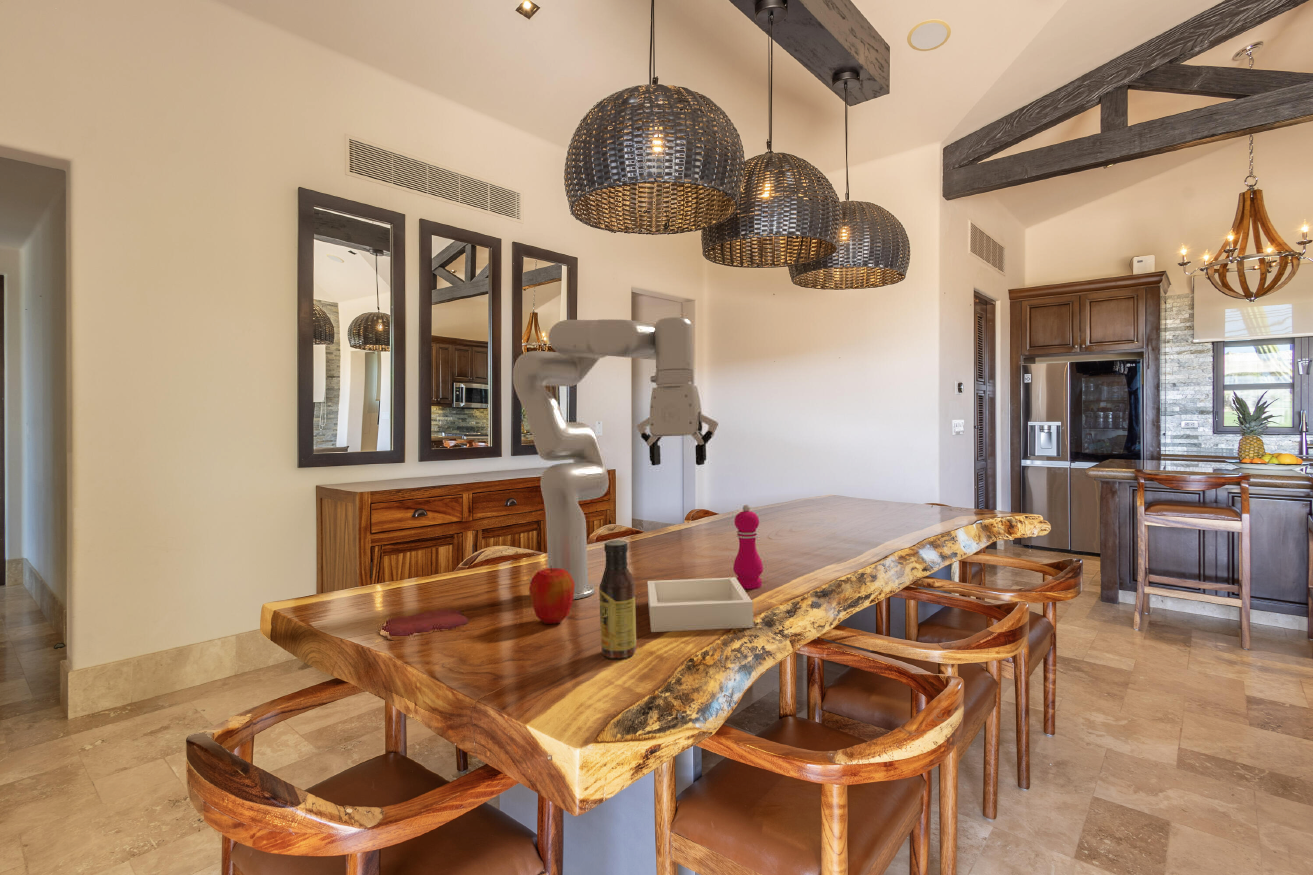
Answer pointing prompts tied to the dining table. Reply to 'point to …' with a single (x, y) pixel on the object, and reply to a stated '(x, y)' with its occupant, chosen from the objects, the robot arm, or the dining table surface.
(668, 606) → the tray
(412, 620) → the patty
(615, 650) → the sauce bottle
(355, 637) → the dining table surface
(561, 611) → the apple
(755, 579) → the pepper mill
